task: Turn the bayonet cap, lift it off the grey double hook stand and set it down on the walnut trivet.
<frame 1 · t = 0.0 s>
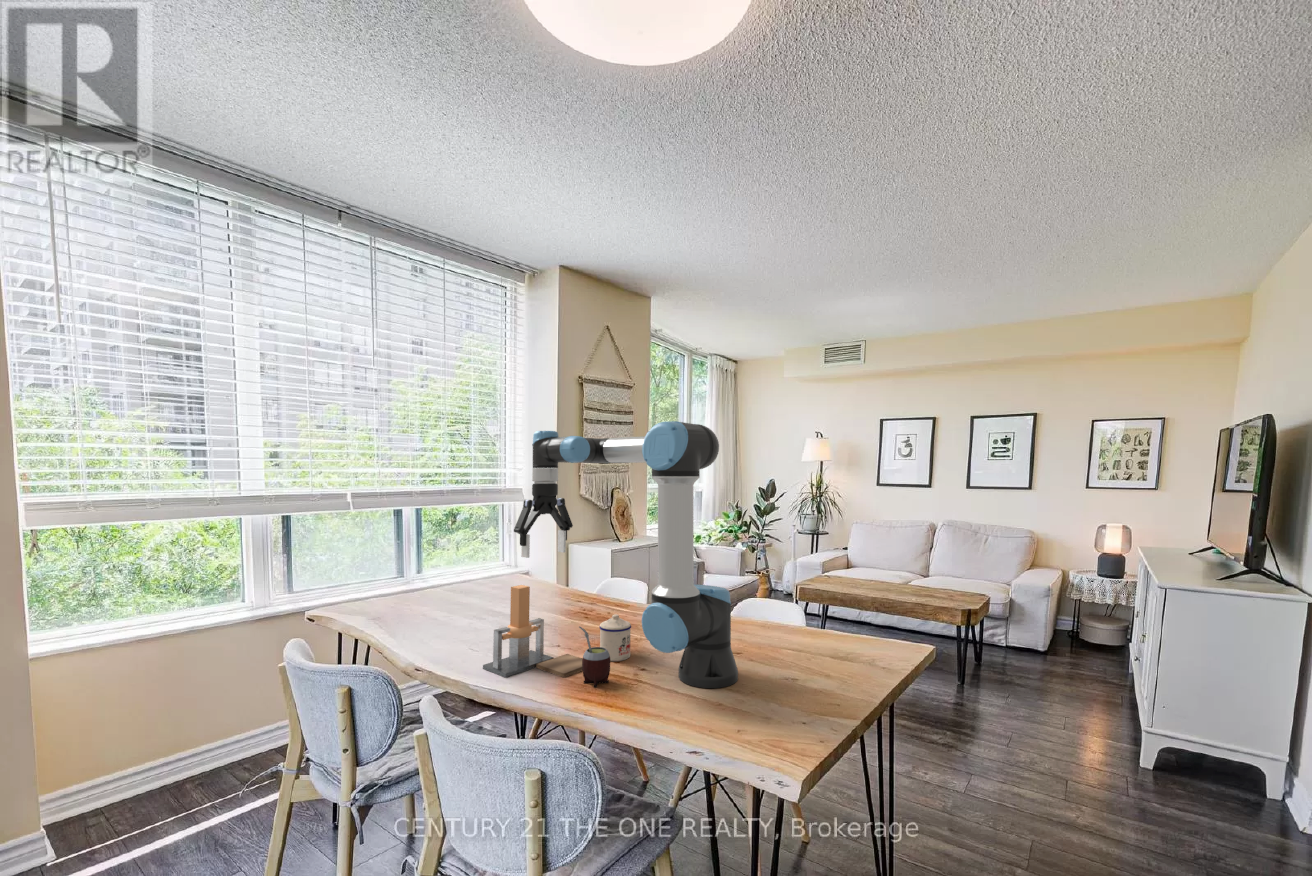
hand: (544, 554, 165), 28 cm above the table, fingers open, 13 cm apart
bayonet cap: (519, 634, 152), point 8 cm above the table, touching grey double hook stand
grey double hook stand: (519, 664, 152), on the table
walnut trivet: (565, 666, 150), on the table
teacup with lid: (617, 655, 160), on the table
mate gourd: (595, 684, 138), on the table
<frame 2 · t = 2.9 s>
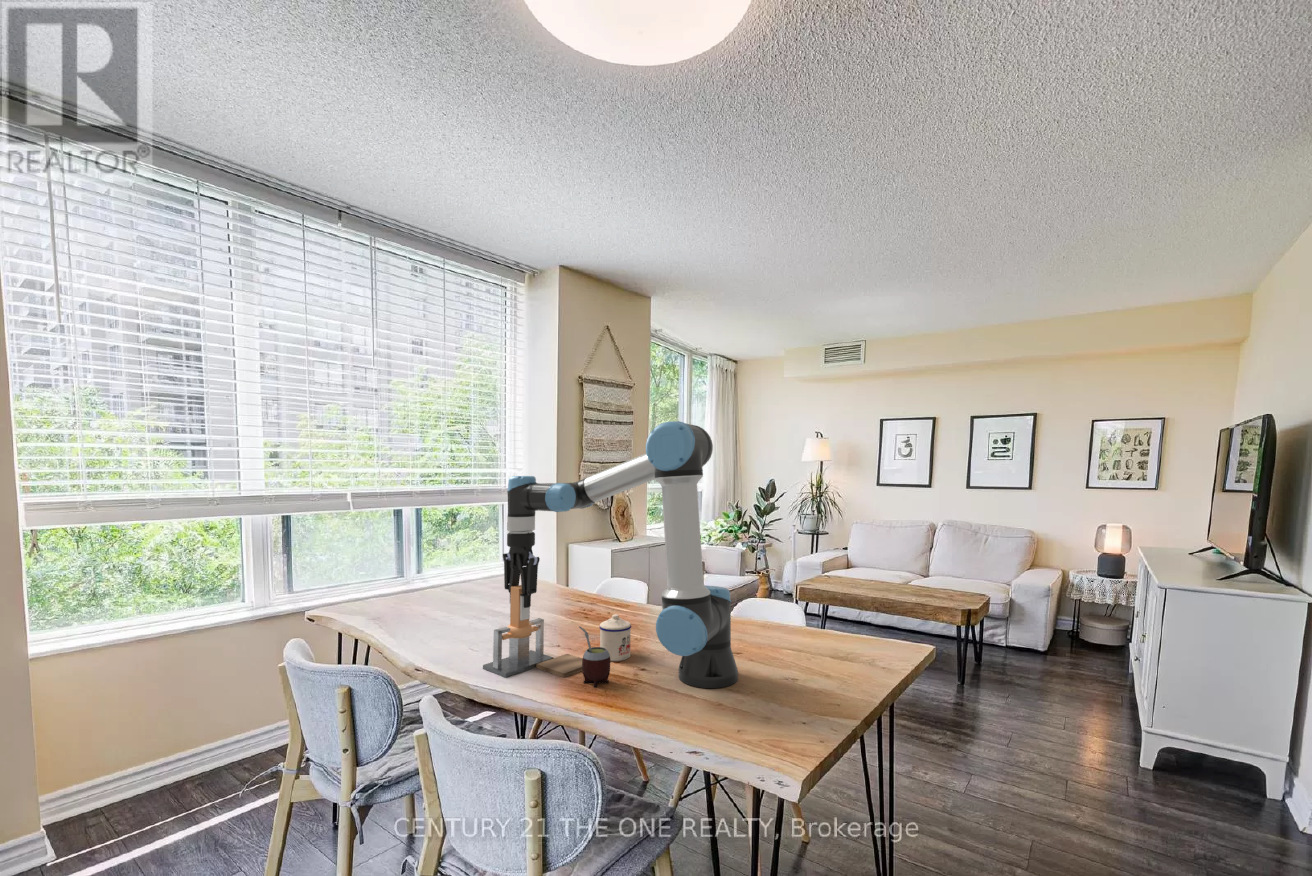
hand: (519, 617, 152), 13 cm above the table, fingers closed on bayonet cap, 4 cm apart
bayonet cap: (519, 634, 152), point 8 cm above the table, touching gripper, grey double hook stand
everything else where it was.
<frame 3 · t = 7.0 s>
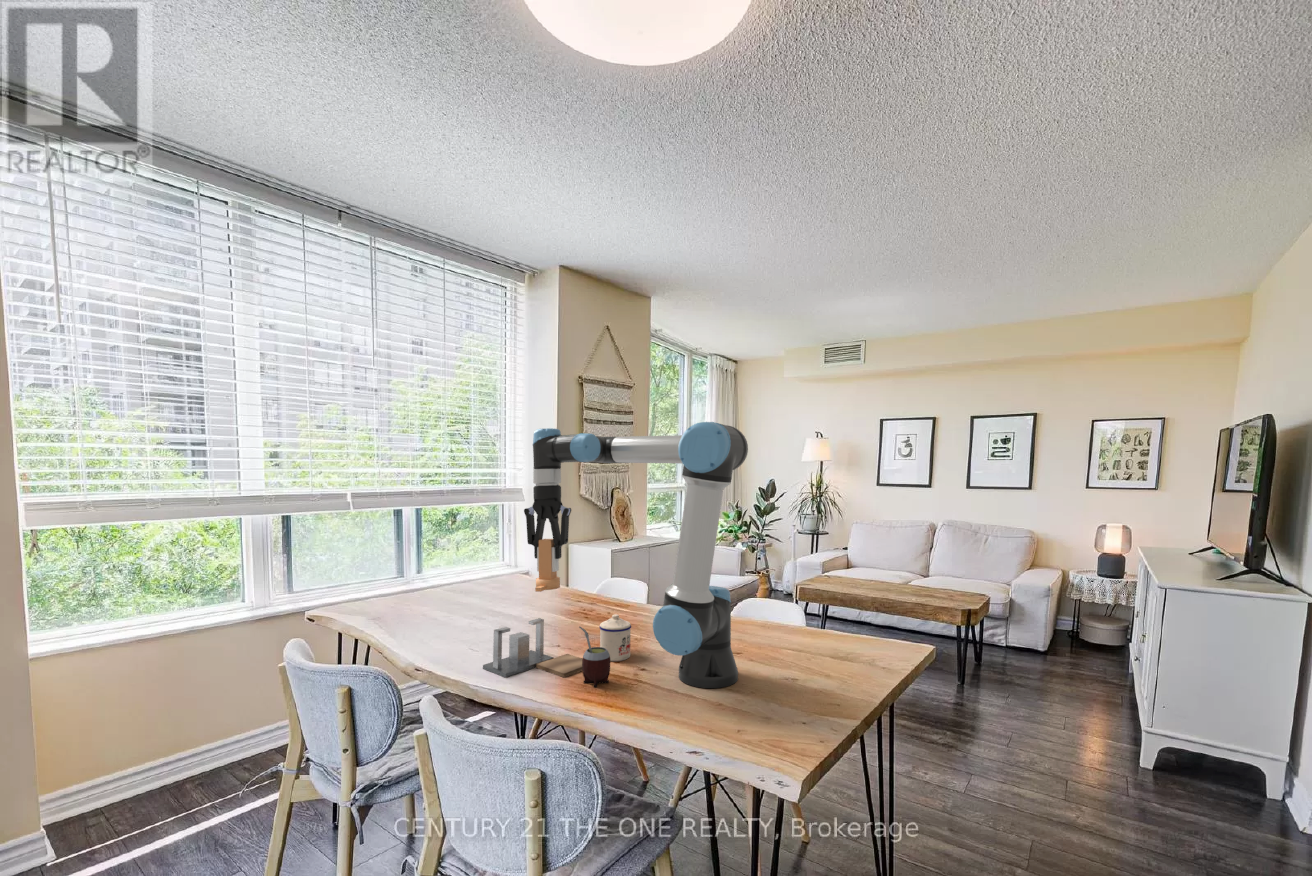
hand: (548, 570, 152), 26 cm above the table, fingers closed on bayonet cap, 4 cm apart
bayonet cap: (548, 587, 152), point 21 cm above the table, touching gripper
everything else where it was.
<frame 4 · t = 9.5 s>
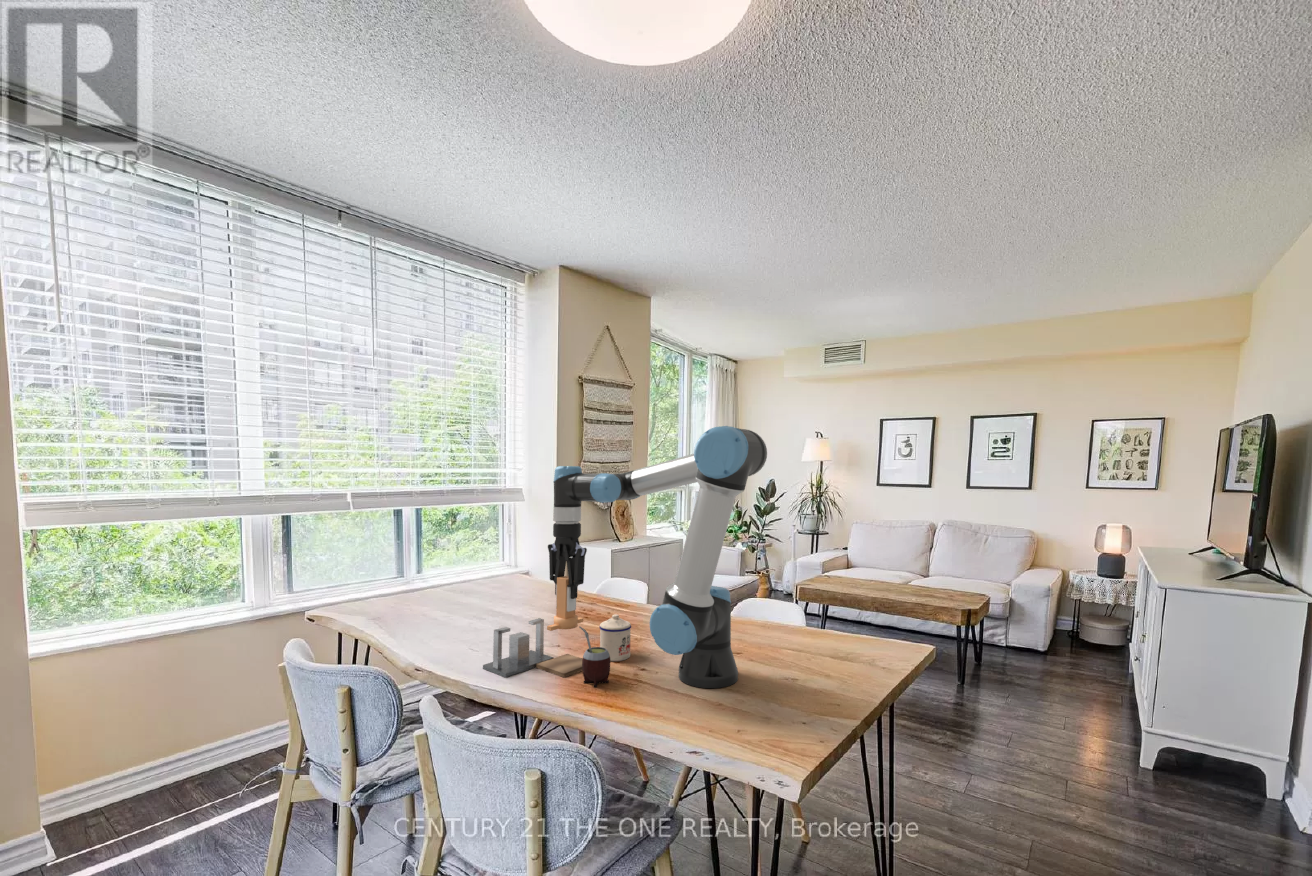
hand: (565, 609, 151), 15 cm above the table, fingers closed on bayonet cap, 4 cm apart
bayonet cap: (565, 626, 151), point 11 cm above the table, touching gripper
everything else where it was.
when the fingers open (6 cm above the table, at t = 11.5 s): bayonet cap stays where it is, resting on walnut trivet.
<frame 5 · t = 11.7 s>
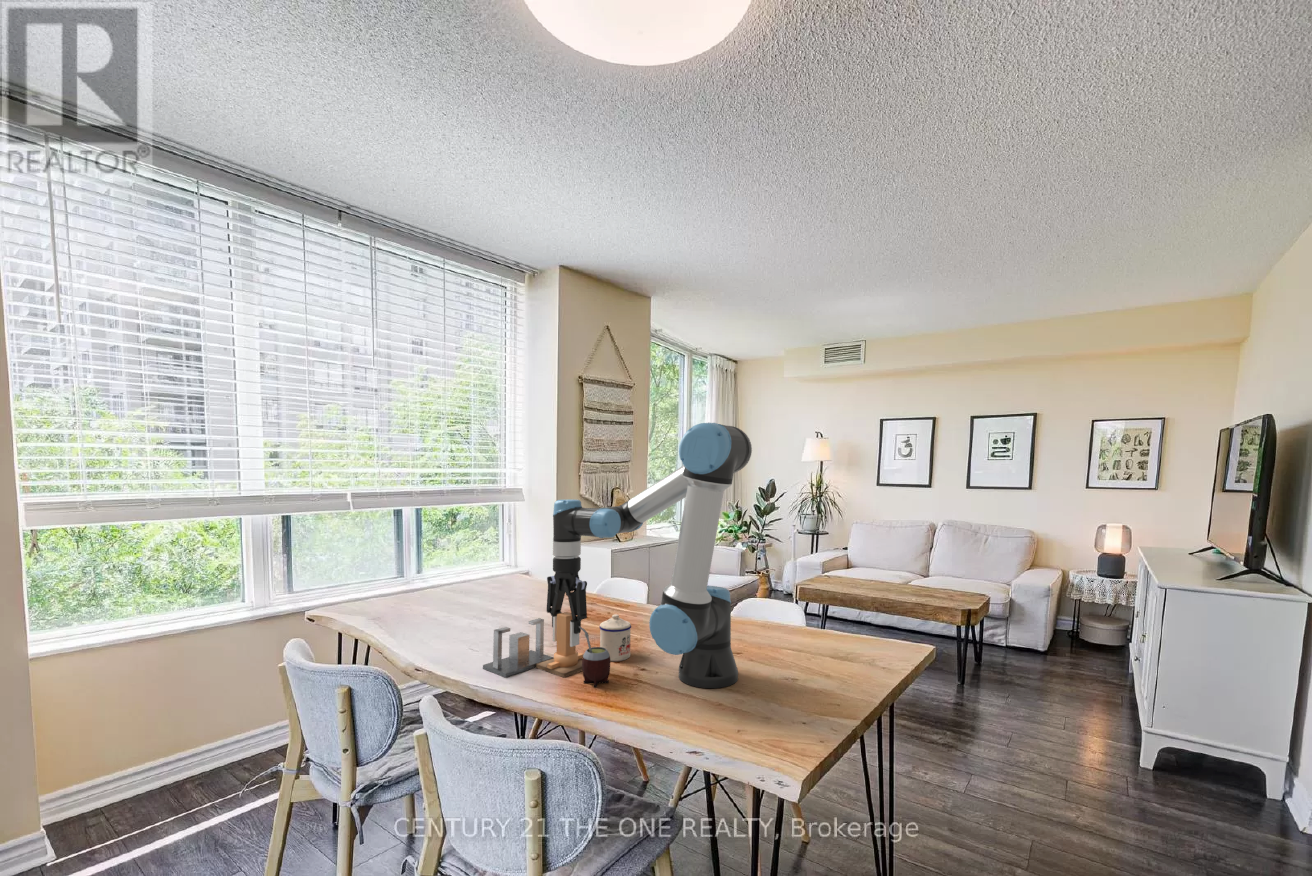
hand: (565, 642, 150), 6 cm above the table, fingers open, 6 cm apart
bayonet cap: (565, 663, 150), point 1 cm above the table, touching walnut trivet
everything else where it was.
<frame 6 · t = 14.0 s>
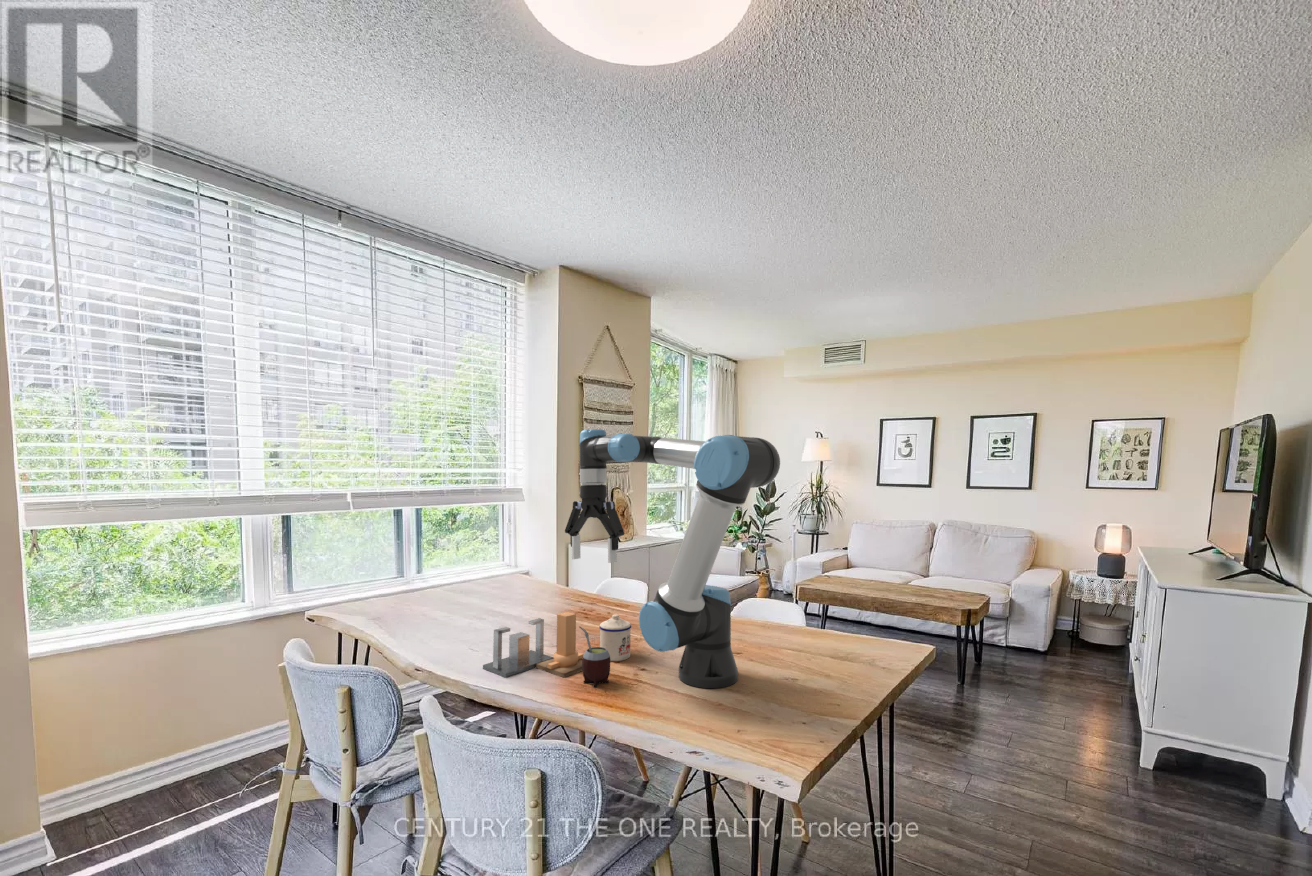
hand: (593, 560, 156), 28 cm above the table, fingers open, 13 cm apart
nothing on the table moved.
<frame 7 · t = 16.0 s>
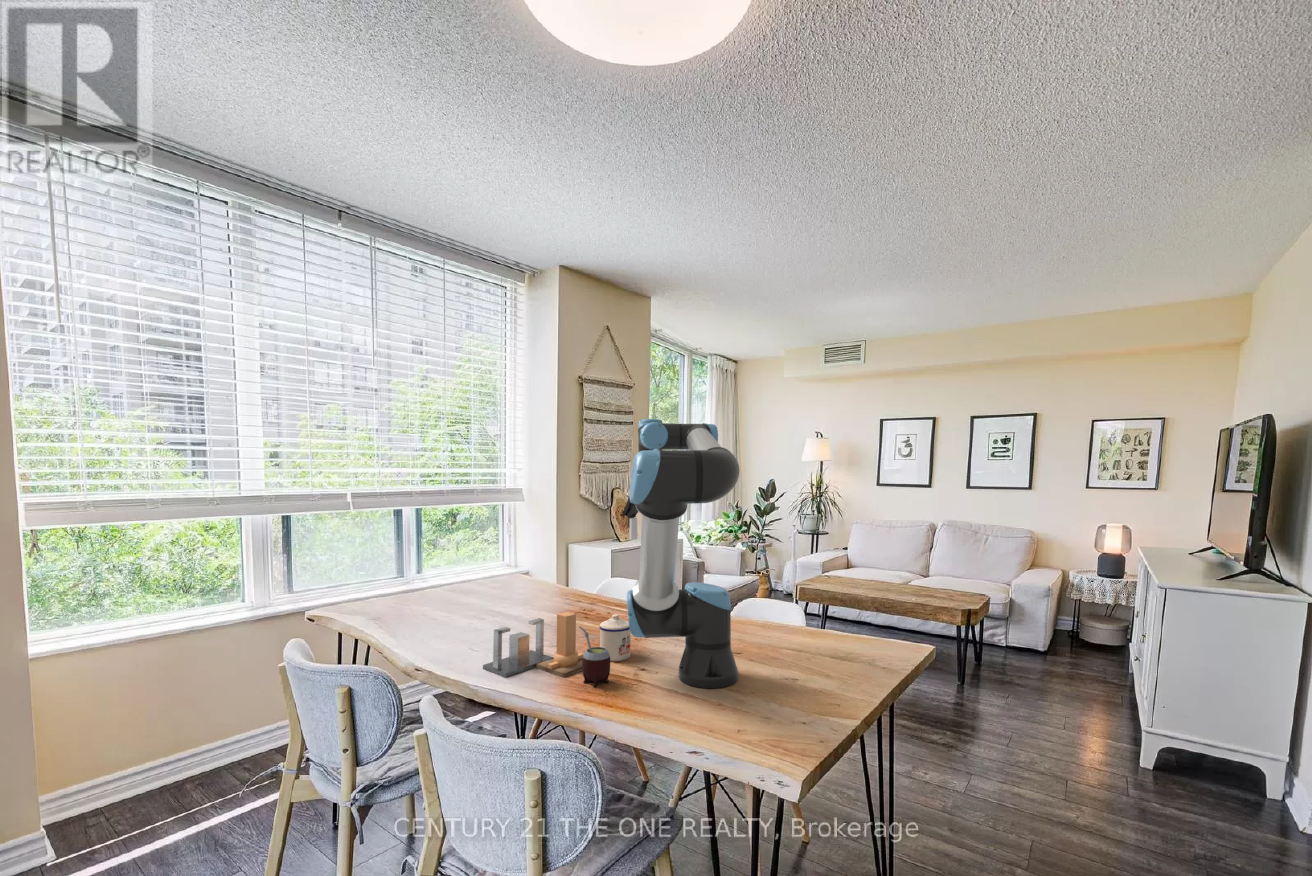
hand: (650, 541, 167), 32 cm above the table, fingers open, 13 cm apart
nothing on the table moved.
at the end: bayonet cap inside the target area on the walnut trivet (0.0 cm from its centre), point 1.0 cm above the walnut trivet's base; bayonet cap tilted 0°; the gripper is holding nothing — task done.
